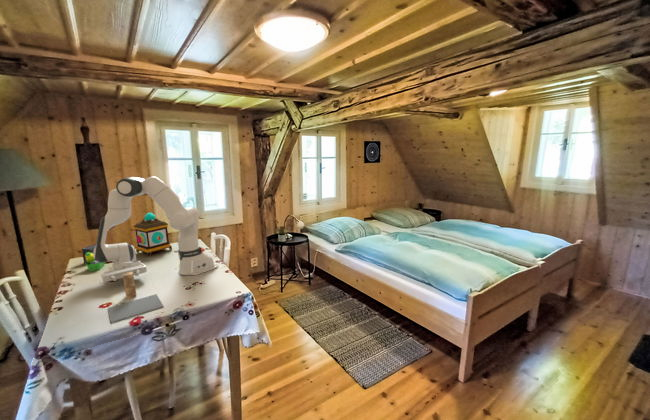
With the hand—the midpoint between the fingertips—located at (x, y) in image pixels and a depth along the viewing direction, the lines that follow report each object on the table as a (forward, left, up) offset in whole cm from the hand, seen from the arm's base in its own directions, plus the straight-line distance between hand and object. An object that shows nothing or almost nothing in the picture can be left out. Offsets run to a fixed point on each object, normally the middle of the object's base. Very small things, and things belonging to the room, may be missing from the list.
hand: (126, 276), depth 155 cm
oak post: (0, +12, -7) cm, 13 cm away
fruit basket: (+12, -50, -7) cm, 51 cm away
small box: (+12, -68, -7) cm, 69 cm away
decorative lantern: (-23, -60, -7) cm, 65 cm away
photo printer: (-5, -48, -7) cm, 48 cm away
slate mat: (0, +28, -7) cm, 28 cm away
